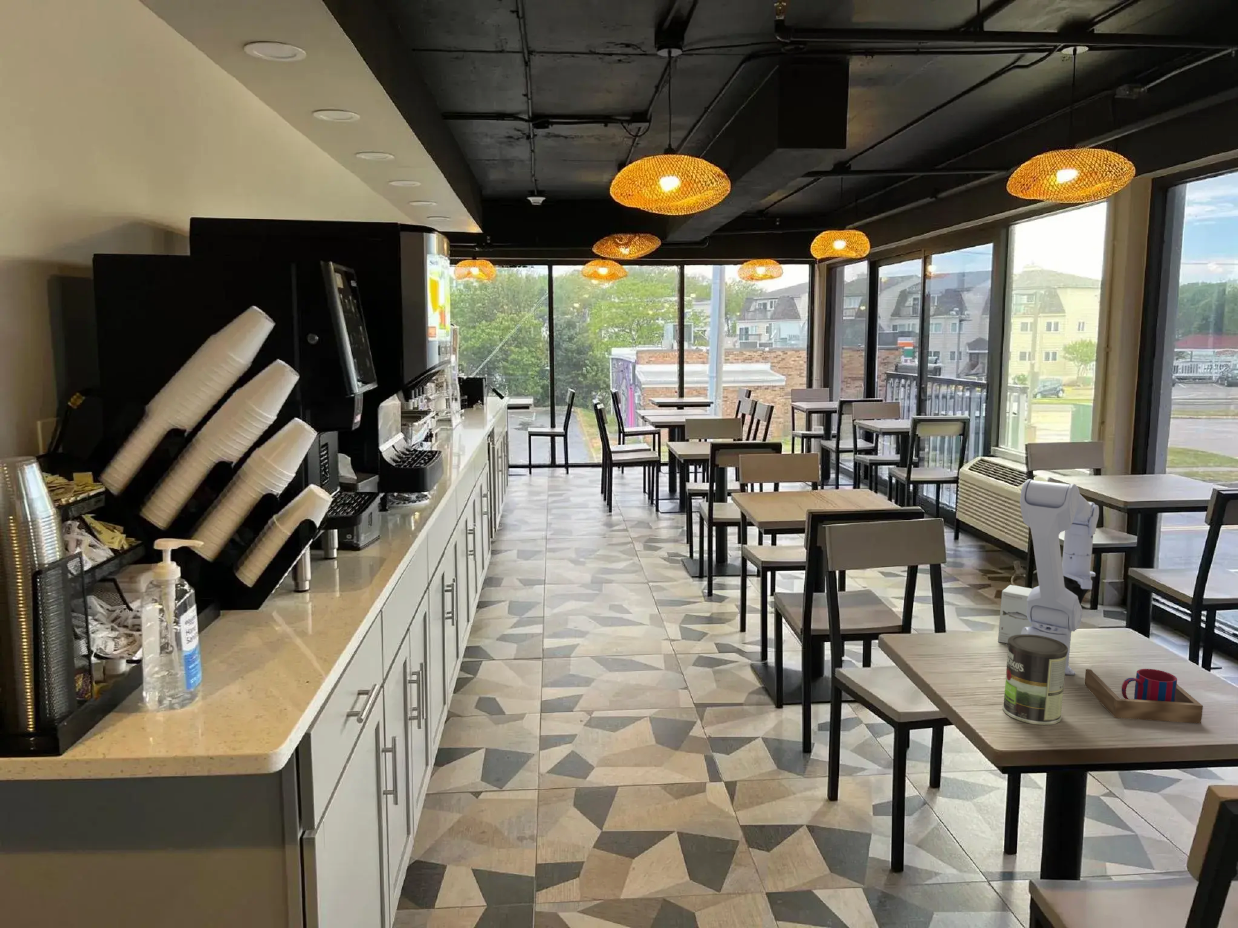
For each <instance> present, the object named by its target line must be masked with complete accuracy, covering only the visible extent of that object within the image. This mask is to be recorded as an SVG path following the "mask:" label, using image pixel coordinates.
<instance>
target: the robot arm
mask: <svg viewBox="0 0 1238 928" xmlns="http://www.w3.org/2000/svg"><path fill="white" fill-rule="evenodd" d="M1019 497H1020V499H1019V505H1020V506H1019V507H1020V512H1021V517H1022V522H1023V523H1024V524H1025V525H1026V526H1027V527H1029V528H1030V532H1031V538H1032V545H1033V552H1034V559H1035V567H1036V575H1037V581H1038V586H1035V587H1033V588H1031V589H1032V591H1031V592H1030V594H1029V596H1028V599H1027V611H1026V614H1027V618H1028V620H1029V622H1031V623H1032V626H1031V627H1023V629H1022V632H1021V634H1030V635H1039V636H1044V637H1049V638H1052V639H1055V640H1058V641H1060V642H1062V643H1064V644H1065V645H1066V646H1067V647H1068V652H1067V656H1066V667H1065V675H1073V676H1074V675H1076V671H1074V670H1073V668H1071V666H1070V663H1069V662H1070V652H1071V651H1070V650H1071V641H1072V640H1071V639H1072V632H1075V631H1077V630H1078V629H1079V627H1080V625H1081V622H1082V617H1083V608H1082V602H1083V599H1084V598H1085V596H1086V594H1087V593H1088V591H1089V590H1092V589H1093V580H1092V577H1096V572H1094V571H1091V563H1092V554H1093V541H1094V535H1095V534H1096V532H1097V524H1098V520H1099V515H1100V507H1099V505H1097V504H1095V502H1093V501H1087V499H1086V498H1085V497H1084V496H1082V494H1080V489H1079V487H1078V485H1077V484H1075V483H1060V482H1054V481H1046V480H1045V481H1044V480H1043V481H1042V480H1036V479H1031V478H1029V479H1026V481H1024V482H1023V484H1022V487H1021V490H1020V496H1019ZM1062 532H1064V538H1063V551H1061V546H1060V545H1061V544H1060V534H1061V533H1062ZM1061 552H1062V554H1061Z"/></svg>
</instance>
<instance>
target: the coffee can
mask: <svg viewBox="0 0 1238 928" xmlns="http://www.w3.org/2000/svg"><path fill="white" fill-rule="evenodd" d="M1067 652H1068V647H1067V646H1066V645H1065V644H1064V643H1062V642H1060V641H1058V640H1055V639H1052V638H1049V637H1044V636H1039V635H1030V634H1021V635H1014V636H1011V637H1009V638H1008V643H1007V655H1006V656H1007V657H1006V668H1005V669H1006V672H1005V683H1004V693H1003V706H1002V711H1003V712H1004V713H1005V714H1006V715H1008V716H1009V717H1010V718H1013V719H1014V720H1016V721H1019V722H1022V723H1026V724H1030V725H1037V726H1051V725H1055V724H1058V723H1059V722H1061V721H1062V706H1063V697H1064V688H1065V687H1064V686H1065V676H1066V674H1065V667H1066V656H1067Z"/></svg>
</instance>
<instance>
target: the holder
mask: <svg viewBox="0 0 1238 928" xmlns="http://www.w3.org/2000/svg"><path fill="white" fill-rule="evenodd" d="M1084 674H1085V675H1084V687H1085V688H1086V689H1088V691H1089V692H1090V693H1091V694H1092V695H1093V696H1094V697H1095V698H1096V700H1098V702H1100V704H1101V705H1102V706H1103V707H1104V708H1105V709H1106V710H1107V711H1108V712H1109V713H1110V714H1111V715H1112V717H1114V718H1115V719H1125V720H1126V719H1129V720H1142V721H1144V720H1145V721H1157V722H1172V723H1173V722H1174V723H1175V722H1176V723H1185V724H1186V723H1189V724H1191V723H1192V724H1202V717H1203V709H1204V706H1203V704H1201V703H1200V702H1199V701H1198V700H1197V699H1196V698H1195V697H1193V696H1192V695H1191V694H1190V693H1189V692H1188V691H1186V690H1184V689H1183V688H1182V687H1181V686H1180V685H1179V684H1177V686H1176V695H1175V702H1167V701H1151V700H1135V699H1134V698H1128V699H1125V698H1121V697H1119V695H1117V694H1116V693H1115V692H1114V691H1113V690H1112V689H1111V688H1110V687H1109V686H1108V685H1107V683H1105V682H1104V680H1102V679H1101V677H1099V675H1097V674H1096V673H1095V672H1094V671H1093V670H1092V669H1091V668H1090V669H1089V668H1087V669H1085V673H1084Z"/></svg>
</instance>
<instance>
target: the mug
mask: <svg viewBox="0 0 1238 928" xmlns="http://www.w3.org/2000/svg"><path fill="white" fill-rule="evenodd" d="M1135 673H1136V675H1135V677H1128V678H1126V679H1125V680H1124V681H1123V683H1122V685H1121V695H1122V697H1123V699H1129V697H1128V695H1127V687H1128V685H1129V684H1130V683H1131V682H1135V684H1134V695H1133V699H1135V700H1151V701H1167V702H1175V695H1176V686H1177V685H1178V677H1177V676H1175V675H1174V674H1172V673H1170V672H1167V671H1165V670H1161V669H1160V670H1159V669H1154V668H1139V669H1138V670H1137V671H1136V672H1135Z"/></svg>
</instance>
